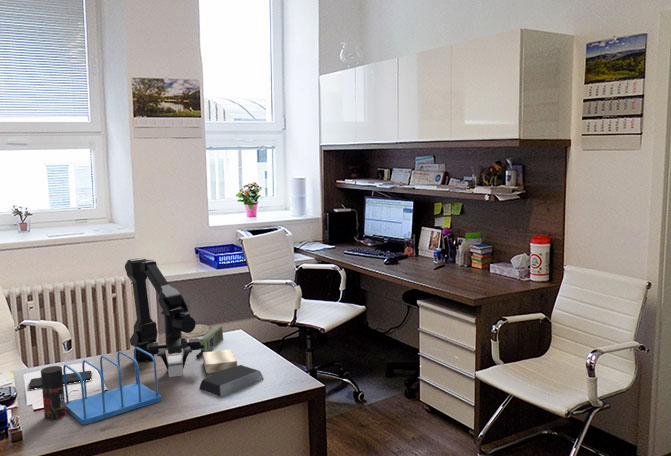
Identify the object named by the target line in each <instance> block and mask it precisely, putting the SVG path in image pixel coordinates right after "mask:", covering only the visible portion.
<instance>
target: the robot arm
mask: <svg viewBox="0 0 671 456" xmlns="http://www.w3.org/2000/svg"><path fill="white" fill-rule="evenodd" d="M157 265H158V264H157V261H156V260H154V259H146V258H145V257H139V258H131V259H128V260H127V261H126V262H125V264H124V270H125V273H126V276H127V277H128V279H129V280H130V281H131V284H132V289H133V297H134V298H133V299H134V306H135V316H136V320H135V323H134V325H133V333H132V334H131V337H130V338H129V344H130V346H132V347H134V349H135V348H136V347H138V348H140V349H142V350H144V351H146V352H148V353H149V354H151V355H152V356H153V357H154V358H155V355H156V356H157V357H160V358H161V360H162V361H163V364H164V365H165V366H164V367H165V369H166V370H167V371H168V359H167V357H168V356H167V354H169V355H173V354H181V353H182V361H183V370H184V368H185V365H186V361H187V358H188V356H189V354H191V353H193V351H197V350H198V351H199V350H200V351H201V342H200V338H198V337H197V338H196V337H195V338H189V339H188V338H187V337H182V336H183V335H182V334H183V333H184V334H190V333H191V332H193V331H194V330H195V328H196V320H195V319H194V318H193V317H192V316H191V313H189V308H188V305H187V303H186V302H185V299H184V296H183V295H182V294H181V293H180V292H179V290H177V289H176V288H175V287H172V286H171V285H170V284H169V282H168V281H167V279H166V278H165V275H164V274H163V273H162V272H161V270H160V269H159V267H158V266H157ZM147 279H148V280H149V282H150V283H151V285H152V287H153V288H154V289H155V291H156V294H158V299H157V300H158V304H159V306H160V308H161V309H162V311H161V313H160V314H161V315H163V316H164V317H163V319H164V320H163V321H164V333H165V335H164V336H165V344H159V342H158V341H157V338H158V328H157V322H156V321H154V320H153V319H152V318H151V314H150V305H149V296H148V287H147ZM182 332H183V333H182ZM187 339H188V340H187ZM166 351H167V352H166ZM136 361H137V363H140V362H141V363H142V362H150V361H152V362H153V360H152V358H151V357H150V356H149V355H147V354H145V353H143V352H141V351H139V350H137V349H136Z"/></svg>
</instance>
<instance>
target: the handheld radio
mask: <svg viewBox="0 0 671 456" xmlns="http://www.w3.org/2000/svg"><path fill="white" fill-rule="evenodd" d="M199 339H200V342H201V349H200V351H199V352H198V353H197V354H196V355H195V356H196V358H200V357H201V356H203V352H211V351H212V350H213V349H214V348H215V347H216V346H217V345H218V344H220V343H221V342H222V341H223V340H224V333H223V325H222V324H217V325H216V326H214V327H212V328H211V329H210V330H209V331H208V332H207V333H205V334H204V335H203V336H201V337H200V338H199Z"/></svg>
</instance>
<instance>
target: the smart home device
mask: <svg viewBox="0 0 671 456" xmlns="http://www.w3.org/2000/svg"><path fill="white" fill-rule="evenodd" d="M77 372H78V373H79V374H80V375H81V377H82V380H83V371H77ZM62 374H63V384H65V383H64V373H62ZM92 377H93V375H92V370H85V380H90V379H92ZM79 381H80V378H79V376H78V375H77V374H75V373H74V372H71V373H66V382H67V385H70V384H69V383H74V382H79ZM74 384H75V383H74ZM28 385H29V386H28V388H29V389H33V390H36V389H35V388H40V389H42V380H41V377H36V378H35V377H34V378H31V379H30V381H29V384H28ZM29 389H28V390H29Z"/></svg>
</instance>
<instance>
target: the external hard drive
mask: <svg viewBox="0 0 671 456" xmlns="http://www.w3.org/2000/svg"><path fill="white" fill-rule="evenodd" d="M264 379H265V378H264V376H263V374H262V372H261V371H260V370H259V369H255V368H252V367H248V366H245V365H243V364H239V365H237V366H235V367H231V368H228V369H225V370H222V371H219V372H217V373H214V374H210V375H208V376H207V377H205V378H202V380H201V381H200V385H199V386H198V388H199V390H201V391H204V392H206V393H209V394H212V395H214V396H215V395H216V396H218V397H220V398H221V397H227V396H228V395H231V394H233V393H236V392H239V391H242V390H244V389H247V388H249V387H251V386H253V385H255V384H257V382H258V383H260V382H261V380H262V381H263V380H264ZM259 381H260V382H259Z"/></svg>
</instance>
